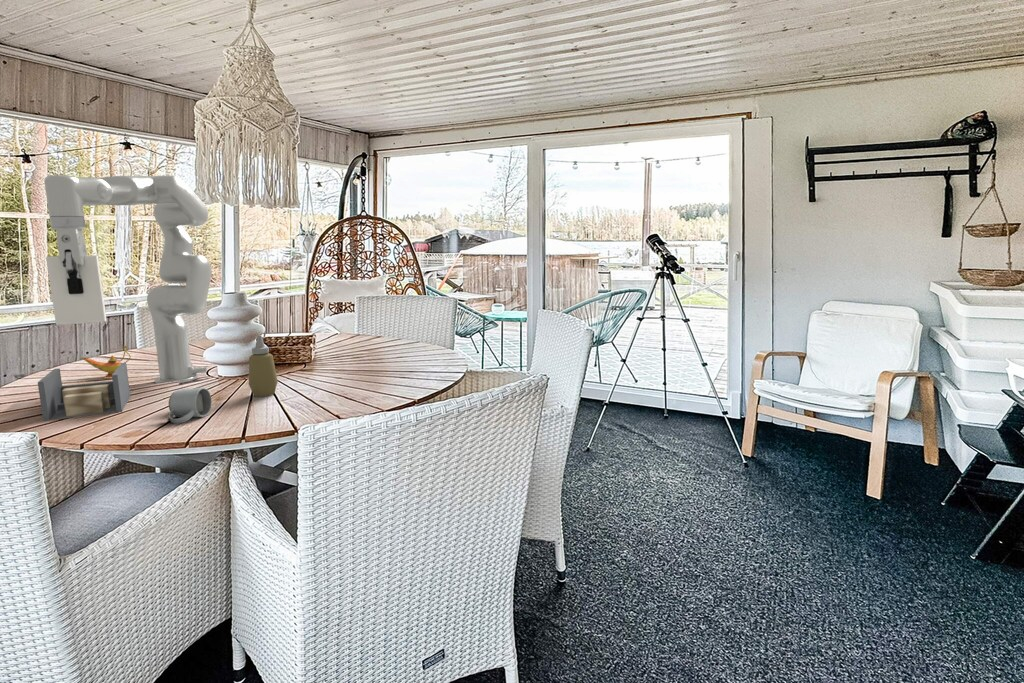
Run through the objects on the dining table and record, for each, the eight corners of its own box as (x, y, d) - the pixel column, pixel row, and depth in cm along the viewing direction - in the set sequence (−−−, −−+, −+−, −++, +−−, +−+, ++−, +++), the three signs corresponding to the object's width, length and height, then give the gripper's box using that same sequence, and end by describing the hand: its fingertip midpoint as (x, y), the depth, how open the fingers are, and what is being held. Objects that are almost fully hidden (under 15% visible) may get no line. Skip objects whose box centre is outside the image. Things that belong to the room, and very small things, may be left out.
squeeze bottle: (284, 392, 186) (279, 333, 183) (265, 398, 178) (260, 338, 175) (262, 390, 189) (257, 332, 186) (243, 397, 181) (238, 337, 178)
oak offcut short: (104, 409, 165) (102, 391, 164) (103, 412, 162) (100, 393, 161) (69, 413, 161) (66, 394, 160) (66, 416, 158) (63, 397, 158)
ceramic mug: (184, 412, 166) (180, 384, 165) (213, 412, 166) (210, 384, 164) (160, 424, 156) (156, 395, 154) (191, 424, 155) (188, 395, 154)
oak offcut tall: (111, 405, 169) (108, 384, 168) (109, 407, 166) (107, 386, 165) (67, 410, 164) (64, 388, 163) (65, 412, 162) (62, 390, 161)
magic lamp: (89, 374, 215) (85, 343, 214) (139, 374, 215) (135, 343, 213) (75, 379, 209) (70, 347, 207) (126, 378, 208) (122, 346, 206)
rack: (131, 401, 178) (126, 362, 176) (122, 417, 162) (117, 374, 160) (60, 409, 171) (54, 368, 169) (44, 426, 155) (37, 382, 153)
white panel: (106, 320, 170) (97, 255, 167) (104, 321, 167) (96, 255, 164) (58, 323, 165) (48, 256, 162) (56, 325, 163) (45, 256, 159)
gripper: (78, 223, 156) (88, 295, 159) (90, 224, 171) (99, 290, 174) (42, 223, 153) (53, 296, 156) (57, 224, 167) (67, 291, 171)
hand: (77, 292), depth 165 cm, fingers closed on white panel, 3 cm apart
